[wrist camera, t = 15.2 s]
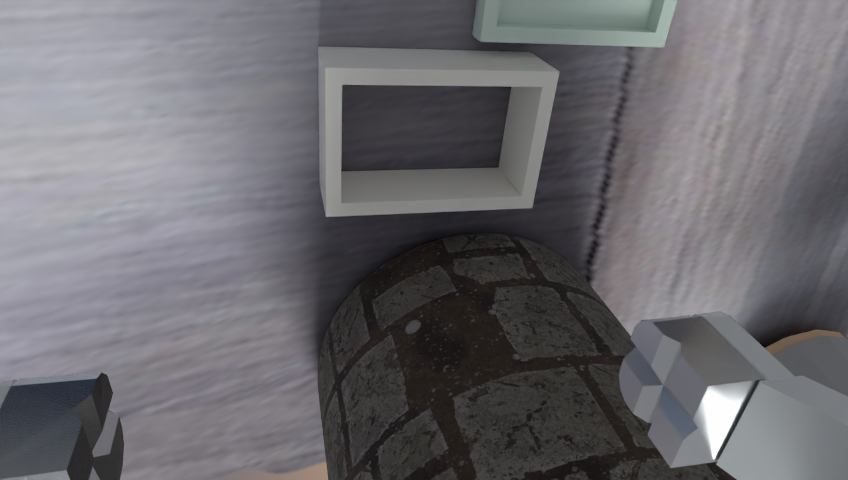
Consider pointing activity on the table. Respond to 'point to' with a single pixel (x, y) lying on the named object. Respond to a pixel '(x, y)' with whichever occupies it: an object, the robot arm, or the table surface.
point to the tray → (574, 22)
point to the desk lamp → (815, 357)
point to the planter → (482, 373)
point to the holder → (435, 186)
